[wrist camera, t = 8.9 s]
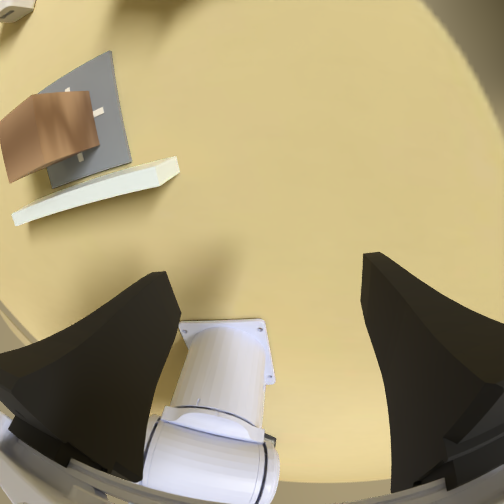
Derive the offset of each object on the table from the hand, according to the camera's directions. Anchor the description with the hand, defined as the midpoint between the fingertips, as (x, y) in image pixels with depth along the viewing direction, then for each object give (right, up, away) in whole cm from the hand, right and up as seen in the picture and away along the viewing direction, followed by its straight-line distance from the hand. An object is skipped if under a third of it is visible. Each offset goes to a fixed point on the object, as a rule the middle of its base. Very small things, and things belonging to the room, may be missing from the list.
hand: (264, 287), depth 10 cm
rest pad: (-14, +11, +7) cm, 19 cm away
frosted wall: (-13, +6, +9) cm, 18 cm away
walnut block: (-14, +11, +7) cm, 19 cm away
